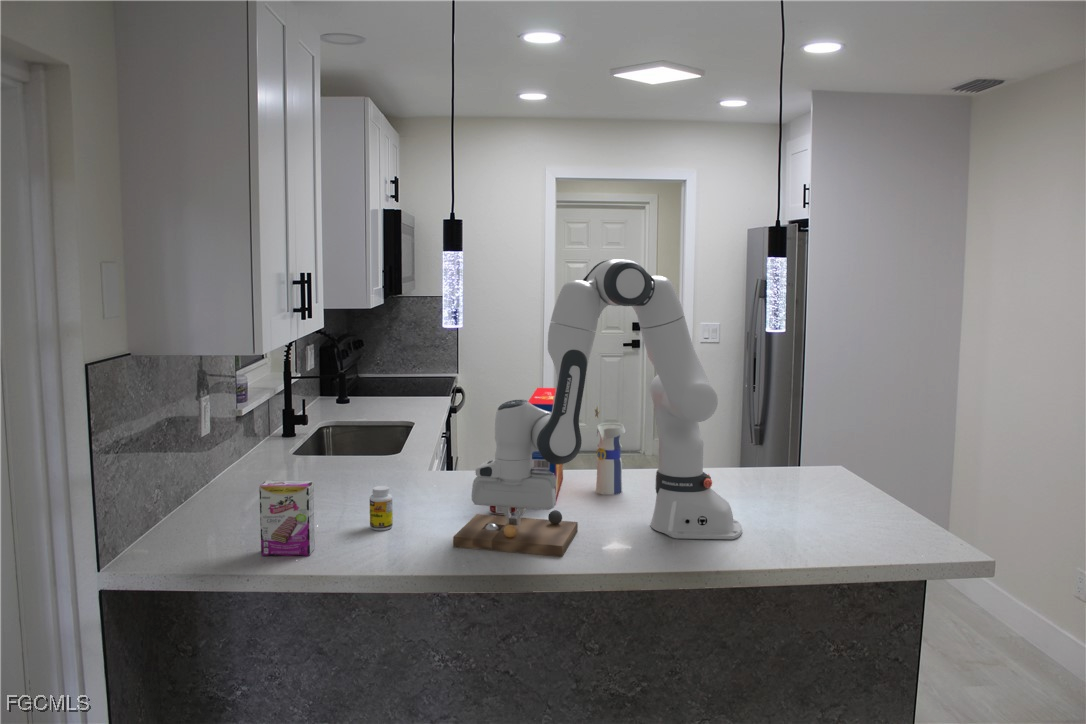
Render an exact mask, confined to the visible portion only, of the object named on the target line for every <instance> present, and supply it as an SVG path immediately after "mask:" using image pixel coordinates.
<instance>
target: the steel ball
mask: <svg viewBox="0 0 1086 724" xmlns="http://www.w3.org/2000/svg"><path fill="white" fill-rule="evenodd" d="M485 530H495V531H499V528H498V526H497V525H496V524H494V523H490V524H488V525H487V526H486V527H485Z"/></svg>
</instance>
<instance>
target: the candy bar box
mask: <svg viewBox="0 0 1086 724" xmlns="http://www.w3.org/2000/svg"><path fill="white" fill-rule="evenodd" d="M314 491H315V490H314V481H312V480H264V482H262V483H261V484H260V485H259V519H260V521H259V522H260V524H259V525H260V555H261V557H262V556H266V557H267V556H270V557H271V556H275V557H278V556H280V557H281V556H283V557H285V556H287V557H292V556H293V557H294V556H296V557H298V556H299V557H300V556H302V557H305V556H306V557H310V556H311V555H312V553H313V552H314V551H315V549H316V548H315V547H316V542H315V507H314V506H315V503H314V502H315V500H314V499H315V498H314V497H315V496H314V495H315V494H314Z"/></svg>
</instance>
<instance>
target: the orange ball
mask: <svg viewBox="0 0 1086 724" xmlns="http://www.w3.org/2000/svg"><path fill="white" fill-rule="evenodd" d="M516 532H517V530H516V528H515V526H513V525H507V526H506V527H505V528H504V534H505V536H506V537H508V538H512V537H514V536H515V535H516Z"/></svg>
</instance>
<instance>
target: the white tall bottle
mask: <svg viewBox="0 0 1086 724" xmlns="http://www.w3.org/2000/svg"><path fill="white" fill-rule="evenodd" d="M594 412H595V414H594V418H597V419H599V414H600V411H599V406H596V408H595V409H594ZM624 426H625V425H624V424H621V423H612V422H606V423H599V424H598V425H597V426H596V436H598V434H599V443H598V444H597V447H598V449H597V450H596V456H597V464H596V484H595V485H596V486H595V492H596V493H598V494H601V495H608V496H614V495H620V494H622V493H623V460H622V458H621V457H622V456H621V454H622V453H621V451H622V450H621V449H622V448H623V445H622V444H621V436H622V435H624V434H626V428H625V427H624Z"/></svg>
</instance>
